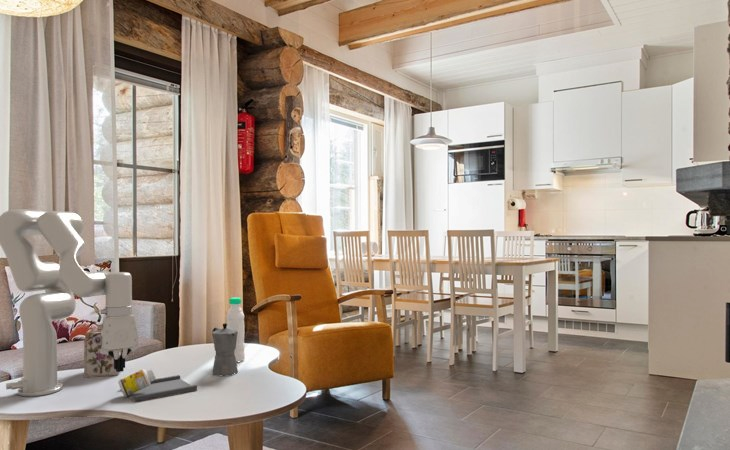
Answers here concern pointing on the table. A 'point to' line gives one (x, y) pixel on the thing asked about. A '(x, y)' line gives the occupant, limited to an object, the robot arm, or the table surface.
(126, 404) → the table surface
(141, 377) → the supplement bottle
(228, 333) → the coffeepot
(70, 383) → the table surface
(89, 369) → the decorative jar
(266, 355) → the table surface
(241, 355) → the water bottle
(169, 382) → the mat
